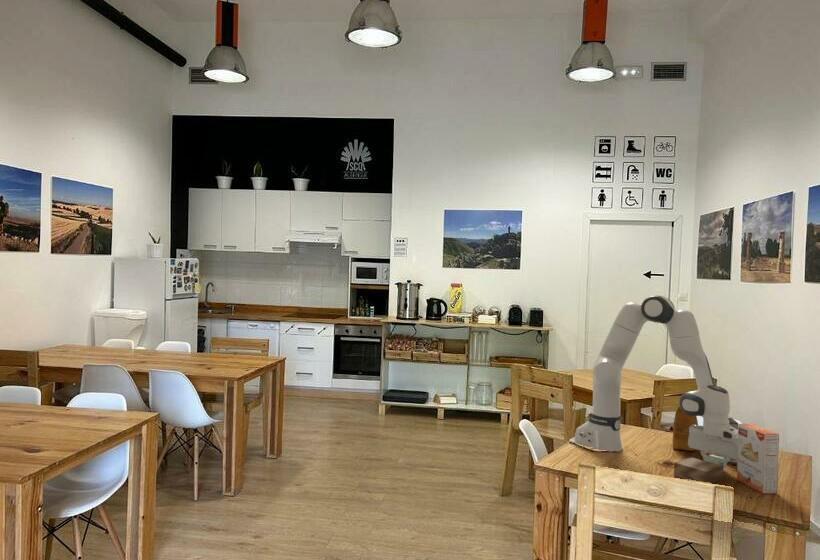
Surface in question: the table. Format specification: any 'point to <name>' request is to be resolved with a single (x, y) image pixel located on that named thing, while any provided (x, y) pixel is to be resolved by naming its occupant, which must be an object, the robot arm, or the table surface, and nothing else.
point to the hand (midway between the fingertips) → (714, 465)
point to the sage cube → (715, 459)
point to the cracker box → (758, 458)
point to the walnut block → (698, 470)
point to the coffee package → (682, 430)
